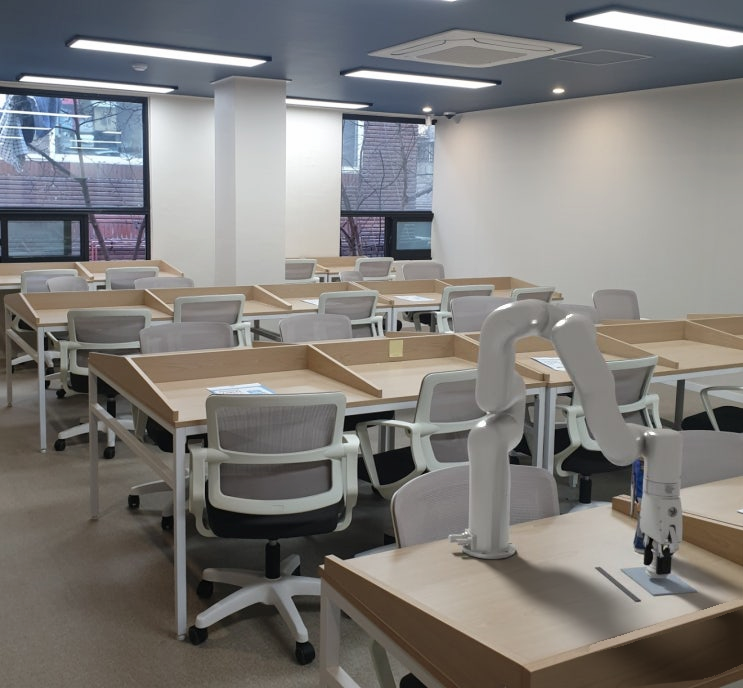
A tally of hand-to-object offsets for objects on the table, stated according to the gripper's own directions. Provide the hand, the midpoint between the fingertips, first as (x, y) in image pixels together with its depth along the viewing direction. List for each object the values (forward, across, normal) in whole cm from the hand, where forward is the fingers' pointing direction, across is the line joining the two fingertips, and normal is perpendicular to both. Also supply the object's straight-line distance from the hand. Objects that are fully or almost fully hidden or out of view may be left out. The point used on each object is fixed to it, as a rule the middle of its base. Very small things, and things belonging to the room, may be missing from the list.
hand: (656, 568), depth 184 cm
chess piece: (+2, 0, 0) cm, 2 cm away
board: (+3, 0, +2) cm, 4 cm away
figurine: (+3, +18, -6) cm, 19 cm away
